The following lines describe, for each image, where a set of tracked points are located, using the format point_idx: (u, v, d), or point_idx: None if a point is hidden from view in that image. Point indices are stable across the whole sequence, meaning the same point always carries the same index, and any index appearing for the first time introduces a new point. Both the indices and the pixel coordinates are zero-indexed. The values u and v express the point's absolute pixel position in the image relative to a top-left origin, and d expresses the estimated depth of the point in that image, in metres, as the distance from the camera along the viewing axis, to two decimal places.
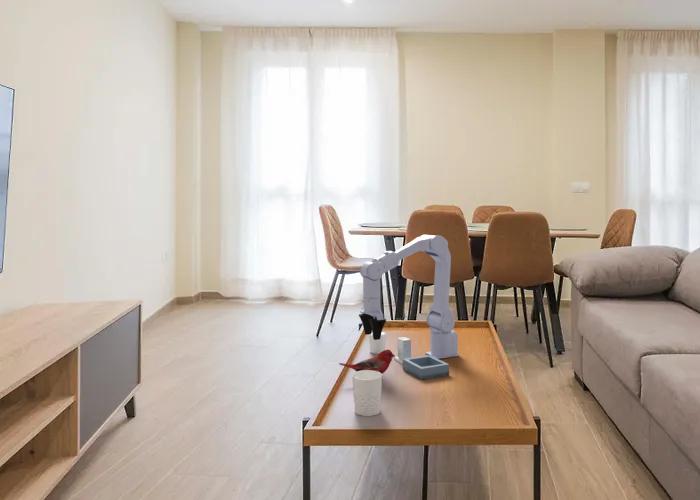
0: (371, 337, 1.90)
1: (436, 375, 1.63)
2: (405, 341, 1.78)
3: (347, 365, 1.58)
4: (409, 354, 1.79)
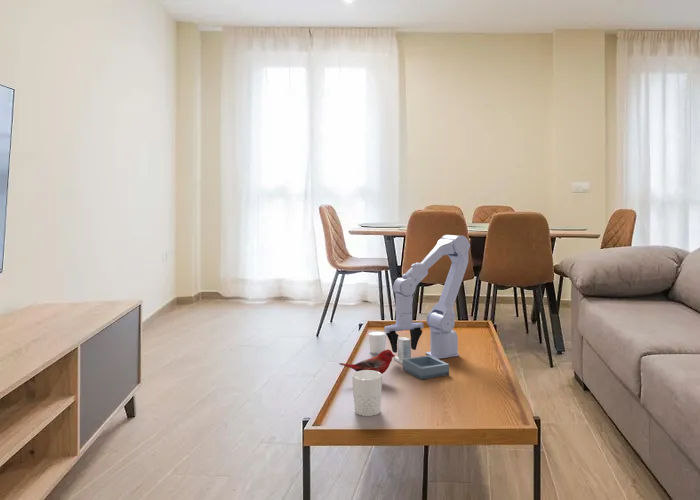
0: (371, 337, 1.90)
1: (436, 375, 1.63)
2: (405, 341, 1.78)
3: (347, 365, 1.58)
4: (409, 354, 1.79)
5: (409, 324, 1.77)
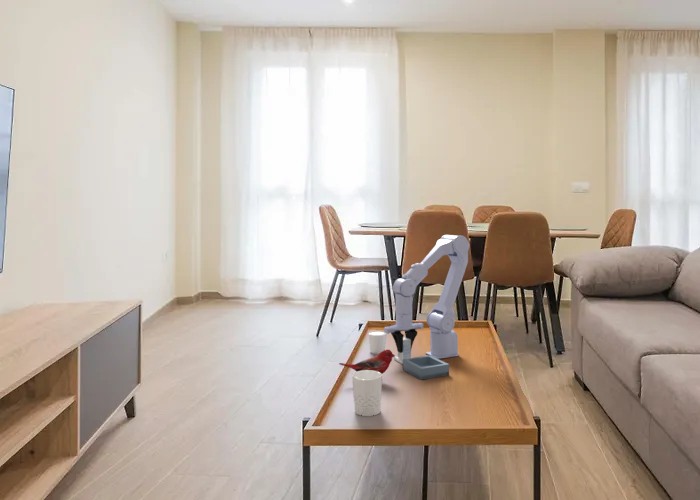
0: (371, 337, 1.90)
1: (436, 375, 1.63)
2: (405, 341, 1.78)
3: (347, 365, 1.58)
4: (409, 354, 1.79)
5: (409, 325, 1.77)
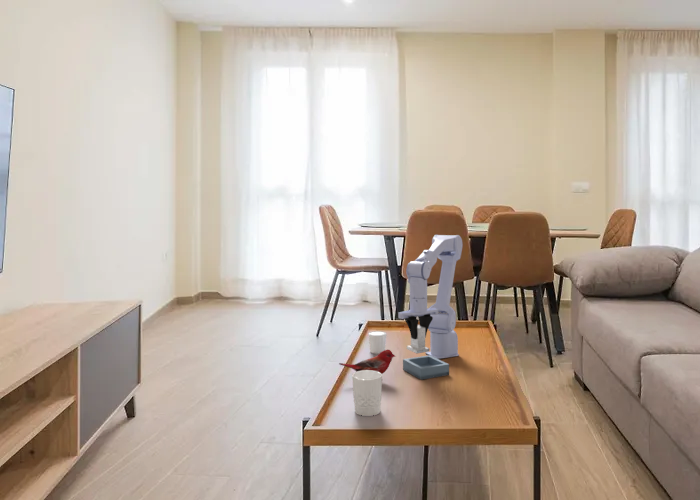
0: (371, 337, 1.90)
1: (436, 375, 1.63)
2: (420, 329, 1.69)
3: (347, 365, 1.58)
4: (423, 343, 1.70)
5: (424, 309, 1.68)
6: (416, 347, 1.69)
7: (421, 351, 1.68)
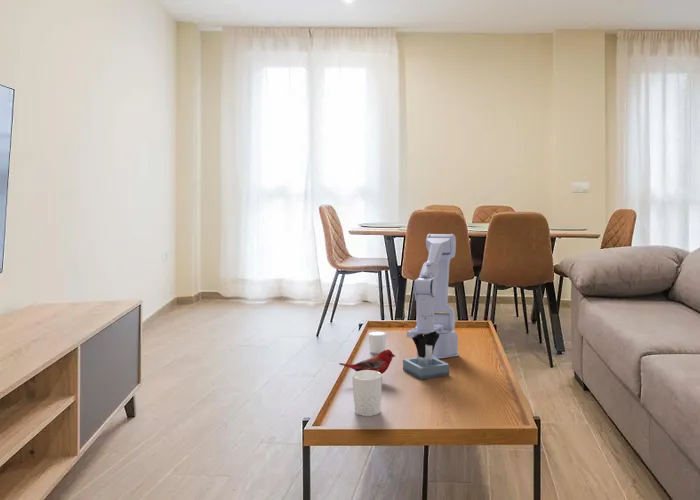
0: (371, 337, 1.90)
1: (436, 375, 1.63)
2: (427, 347, 1.65)
3: (347, 365, 1.58)
4: (431, 361, 1.67)
5: (432, 327, 1.65)
6: (424, 366, 1.66)
7: None
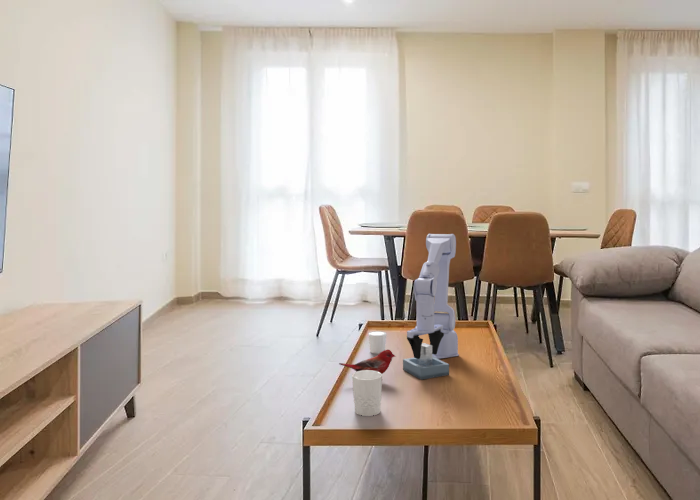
0: (371, 337, 1.90)
1: (436, 375, 1.63)
2: (427, 347, 1.65)
3: (347, 365, 1.58)
4: (431, 361, 1.67)
5: (432, 327, 1.65)
6: (424, 366, 1.66)
7: None
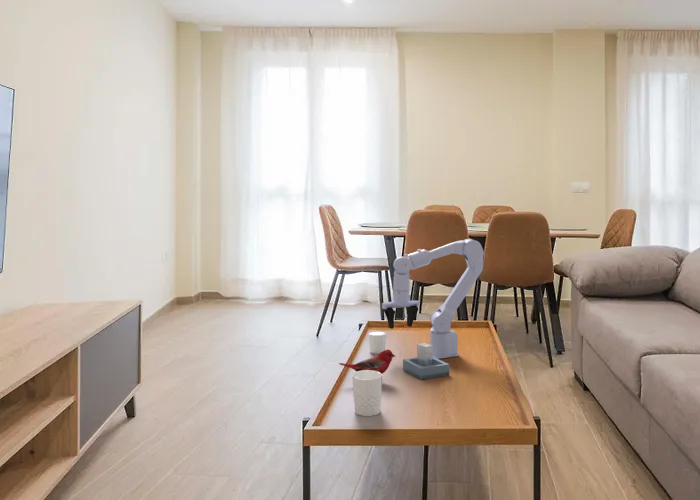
0: (371, 337, 1.90)
1: (436, 375, 1.63)
2: (427, 347, 1.65)
3: (347, 365, 1.58)
4: (431, 361, 1.67)
5: (406, 301, 1.83)
6: (424, 366, 1.66)
7: None
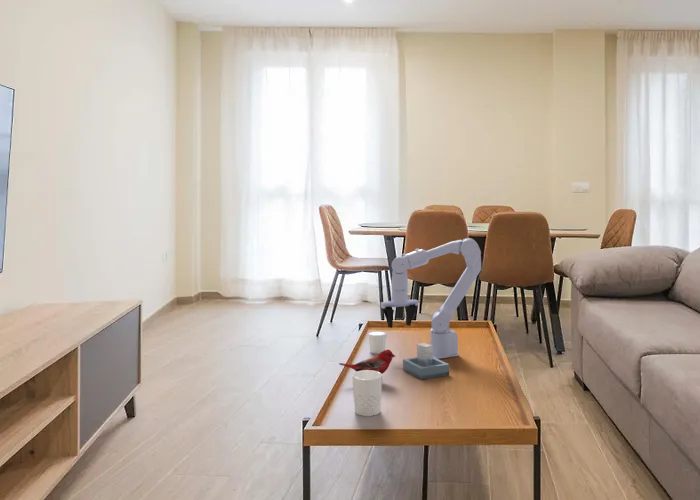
0: (371, 337, 1.90)
1: (436, 375, 1.63)
2: (427, 347, 1.65)
3: (347, 365, 1.58)
4: (431, 361, 1.67)
5: (404, 300, 1.85)
6: (424, 366, 1.66)
7: None
